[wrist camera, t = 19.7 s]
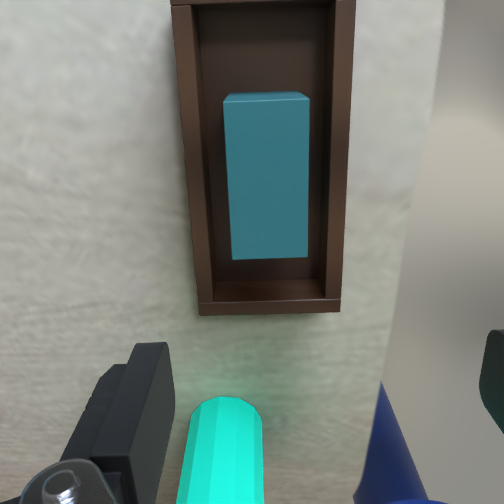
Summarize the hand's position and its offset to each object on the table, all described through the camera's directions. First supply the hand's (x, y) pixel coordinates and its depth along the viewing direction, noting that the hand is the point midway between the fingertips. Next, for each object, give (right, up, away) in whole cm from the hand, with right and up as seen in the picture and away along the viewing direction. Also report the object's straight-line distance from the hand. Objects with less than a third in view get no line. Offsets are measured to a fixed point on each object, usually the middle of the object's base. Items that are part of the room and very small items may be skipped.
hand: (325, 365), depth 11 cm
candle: (-4, -11, +26) cm, 29 cm away
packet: (-1, +9, +16) cm, 19 cm away
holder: (-1, +9, +17) cm, 19 cm away
